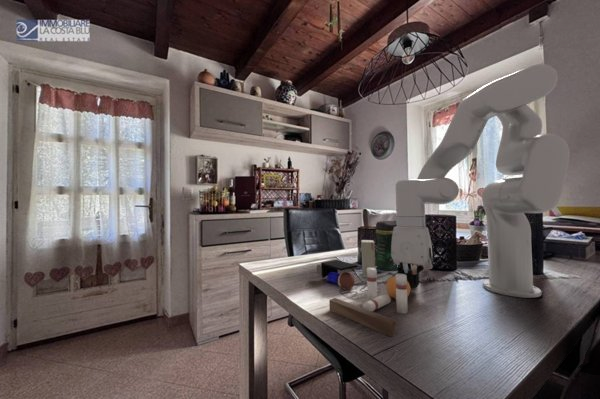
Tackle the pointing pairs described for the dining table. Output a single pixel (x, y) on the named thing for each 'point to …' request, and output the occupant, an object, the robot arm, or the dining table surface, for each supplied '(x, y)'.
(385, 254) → the coffee jar
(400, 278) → the pin
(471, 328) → the dining table surface
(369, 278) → the pin
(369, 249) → the skincare box
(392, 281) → the ball
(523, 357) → the dining table surface
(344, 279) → the figurine character
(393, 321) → the wooden bar
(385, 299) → the front pin
